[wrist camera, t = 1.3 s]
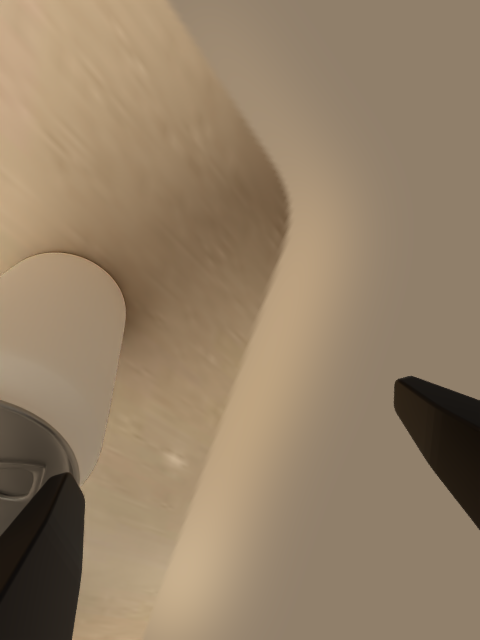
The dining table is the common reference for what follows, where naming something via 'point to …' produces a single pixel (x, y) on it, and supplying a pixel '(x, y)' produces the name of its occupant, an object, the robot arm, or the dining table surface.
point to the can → (54, 372)
